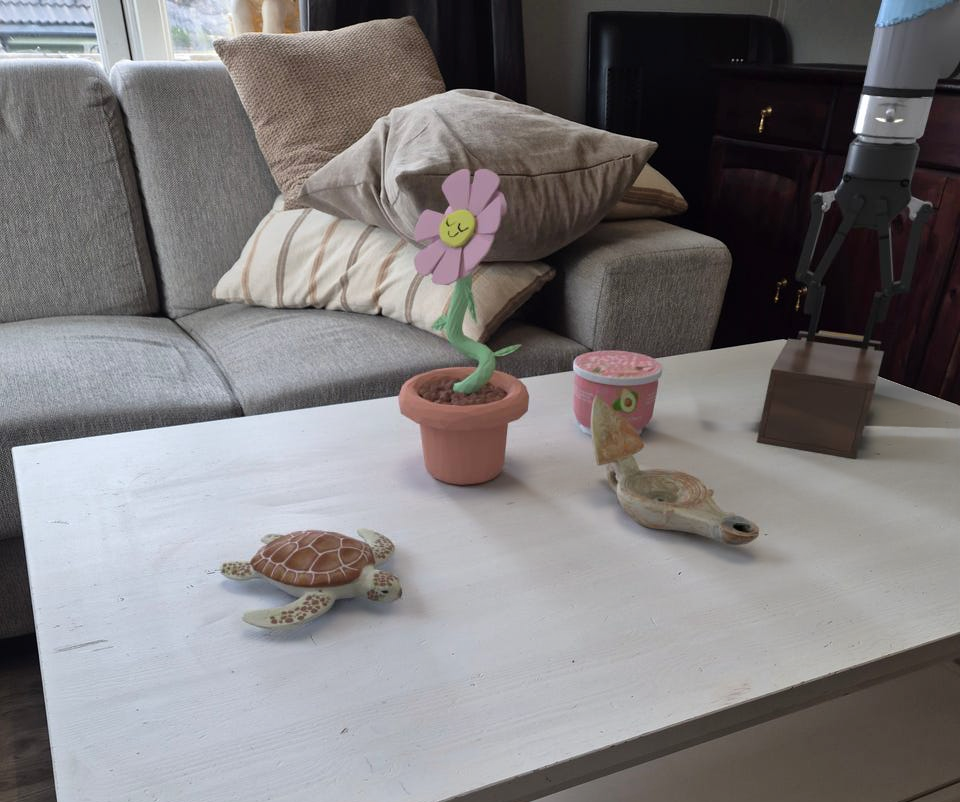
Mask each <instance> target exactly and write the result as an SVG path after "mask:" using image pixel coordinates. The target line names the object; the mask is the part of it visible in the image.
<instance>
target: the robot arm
mask: <svg viewBox="0 0 960 802" xmlns="http://www.w3.org/2000/svg"><path fill="white" fill-rule="evenodd" d="M878 11H879V12H878V13H877V14H878V15H877V18H876V21H875V24H874V32H873V37H872V42H871V48H870V52H869V57H868V62H867V68H866V73H865V77H864V83H863V86H862V91H861V94H860V98H859V102H858V105H857V106H858V107H857V111H856V117H855V119H854V124H853V129H852V132H853V134H854V135H856V137H855V139H853V140H852V142H850V144H849V147H848V152H847V155H846V160H845V165H844V170H843V174H842V178H841V181H840V183H839V184H838V186H837V187H836V188H835V190H830V191H826V192H821V191H817V192H815V193H814V194H813V195H812V196H811V198H810V212H811V217H810V221H809V224H808V228H807V232H806V235H805V239H804V243H803V247H802V250H801V254H800V258H799V261H798V265H797V268H796V272H795V275H794V276H795V280H796V281H797V282H800V283H802V284H804V285H806V286H807V292H806V296H805V301H804V306H803V313H804V315H811V317H810V321H809V326H808V330H807V332H808V335H807V339H806V341H810V342H813V340H814V338H815V333H817V332H816V331H817V329H818V325H819V321H820V320H819V319H820V315H821V310H822V305H823V301H824V297H825V294H826V293H825V292H826V289H827V286H826V285H821V283H822V280H823V279H824V276H825V275H826V273H827V271H828V269H829V268H830V266H831V264H832V262H833V260H834V259H835V257H836V255H837V253H838V252H839V250H840V248H841V246H842V244H843V242H844V240H845V239H846V237H847V236H848V233H849V231H850V230H851V228H853V229H860V228H867V229H869V230H872V231H873V230H874V231H877V239H878V255H879V271H880V288H881V291H880V292H879V291H875V293H874V296H873V300H872V303H871V307H870V311H869V313H868V318H867V323H866V326H865V329H864V334H863V336H864V338H863V342H862V346H861V348H862V349H867V348H868V345H869V341H870V340H871V336H872V333H873V329H874V325H875V323H876V324H883V323H884V322H885V320H886V317H887V314H888V310H889V307H890V302H891V299H892V298H893V297H894V296H895V295H899V294H907V293H908V292H909V291H910V288H911V283H912V279H913V274H914V269H915V265H916V259H917V255H918V250H919V244H920V240H921V236H922V230H923V227H924V224H925V223H926V222H927V220H928V218H929V217H930V214H931V212H932V210H933V203H932V202H931V201H929V200H925V201H924V200H921V199H919V198H916V197H914V196H913V193H912V189H911V185H912V184H911V183H912V179H913V176H914V171H915V167H916V164H917V160H918V157H919V152H920V150H921V149H920V148H921V147H920V146H919V143H917V139H920V138H922V137H923V136H924V134H925V130H926V129H925V128H926V126H927V121H928V119H929V114H930V111H931V106H932V102H933V98H934V96H935V91H936V87H937V83H938V80H940V79H941V80H960V0H881V4H880V7H879V10H878ZM834 201H835V203H836V205H837V207H838V209H839V212H840V213H841V217H842V218H843V220H842V222H841V223H840V225H839V227H838V229H837V231H836V232H835V234H834V236H833V238H832V240H831V242H830V243H829V245H828V247H827V249H826V251H825V253H824V254H823V256H822V258H821V260H820V261H819V264H818V265H817V267H816V269H815V271H814V272H812V271H810V266H811V263H812V260H813V257H814V253H815V249H816V245H817V242H818V238H819V234H820V232H821V227H822V224H823V220H824V216H825V213H827V212H828V211H830V208H831V205H832V202H834ZM906 207H907V208H908V210H909V214H908V218H909V220H910V221H912V223H911V226H910V230H909V235H908V240H907V245H906V250H905V256H904V260H903V265H902V270H901V275H900V279H899V280H898V281H894V267H893V249H892V226H891V222H892V221H893V220H894V219H895V218H896V217H897V216H898V215H899V214H901V212H903V210H904V209H906Z"/></svg>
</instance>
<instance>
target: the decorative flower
mask: <svg viewBox="0 0 960 802" xmlns="http://www.w3.org/2000/svg"><path fill="white" fill-rule="evenodd" d="M500 184H501V178H500V177H499V174H497V173H496V172H494V171H492V170H490V169H488V168H478V169H477V170H476V171H474V175H473V181H472V183H471V170H470V169H468V168H462V169H459V170H457V171H455V172H453V173H451V174H450V175H449V176H447V177H446V178H445V179H444V181H443V183H442V184H441V190H442V192H443V194H444V196H445V198H446V200H447V203H448V204H449V206H448V207H447V208H446V210H445V212H444V213H441V212H438V211H434V210H431V209H425V210H423V211H422V213H421V214H420V215H419V217H418V220H417V222H416V225H415V227H414V234H413V237H414V240H415V242H416V243H421V242H425V241H427V240H430V239H431V240H430V242H429V244H428V246H426V247H425V248H423V249H421V250H420V251H419V252H417V254H416V255H415V256H414V257H413V265H414V269H415V270H416V272H417V273H418V274H419V275H420V276H423V277H428V276H430V275H432V276H431V279H430V280H431V282H432V283H433V284H435V285H439V286H450V285H451V284H454V283H455V284H454V288H453V293H452V296H451V300H450V303H449V308H448V312H447V313H446V314H443V315H441V316H439V317H438V318H436V320H435V321H434V322H433V323H432V325H431V329H432V330H434V331H436V332H438V331H440V332H442V331H445V335H446V338H447V339H448V341H449V344H450V346H451V347H453V348H454V349H456V350H457V351H458V352H460V353H461V354H462V355H463V356H466V357H468V358H470V359H473V360H476V361H478V365H477V367H475V366H458V367H457V366H455V367H454V366H453V367H451V366H450V367H444V368H443V367H442V368H436V369H432V370H429V371H426V372H422V373H420V374H416V375H415V376H412V377H411V378H410V379H408V380H406V381H405V382H404V384H402V386H401V389H400V391H399V393H398V397H397V400H398V406H399V412H400V414H401V415H403V417H406V418H407V419H409V420H410V421H412V422H414V423H415V424H418V425H419V429H420V437H421V438H420V439H421V446H422V455H423V462H424V463H423V464H424V466H425V468H426V471H427V473H428V474H429V475H431V477H432V478H434V479H436V480H438V481H441V482H443V483H445V484H452V485H458V486H466V485H475V484H482V483H485V482H489V481H491V480H493V479H495V478H496V477H498V475H499V474H500V473H501V472H502V471H503V468H504V464H505V460H506V449H507V438H508V430H509V423H512V422H515V421H518V420H520V418H522V417H523V416H524V415H525V414H526V413H528V411H529V405H530V404H529V403H530V394H529V392H528V389H527V386H526V385H525V384H524V383H523V382H522V380H520V379H518V377H515V376H514V375H512V374H508V373H506V372H504V371H503V372H502V371H499V370H496V368H497V367H496V357H503V356H504V357H505V356H506V355H509V354H511V353H513V352H515V351H517V349H519V348H520V347H522V344H514V345H513V344H512V345H509V346H507V347H504V348H501V349H499V350H497V351H495V352H494V351H492V349H490V348H489V347H488V346H487V345H486V344H484V343H481V342H478V341H476V340H474V339H473V338H471V337H469V336H467V335H466V334H465V333H464V330H463V323H464V321H465V320H464V319H465V315H466V312H467V309H468V312H469V315H470V317H471V319H472V321H473V322H474V323H475V325H476V324H478V320H477V319H478V318H477V310H476V303H475V296H474V294H473V292H472V287H473V275H474V272H475V270H477V268H478V267H479V264H480V263H481V262H482V261H483V259H485V258H486V257H487V255H488V254H489V252H490V250H491V248H492V246H493V243H494V241H495V237H496V235H495V234H496V233H497V231H498V230H499V228H500V225H501V222H502V217H503V216H504V215H505V214H507V210H508V208H507V207H508V204H507V201H506V198H505V195H504V193H502V191H499V190H498V188H499V186H500ZM497 190H498V191H497Z"/></svg>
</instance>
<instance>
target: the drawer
mask: <svg viewBox="0 0 960 802" xmlns="http://www.w3.org/2000/svg"><path fill="white" fill-rule="evenodd" d="M807 335H808V331H804V330H800V331H799V332H798V335H797V339H796V340H802V341H806V339H807ZM863 338H864V335H857V334H849V333H841V332H836V331H835V332H834V331H827V330H819V331H818V332H816V333H815V338H814V340H813V342H817V343H825V344H832V345H840V346H847V347H855V348H861V346H862V342H863ZM881 343H882V341H879V340H872V339H870V341H869V345H868V348H867V349H869V350H877V351H880V347H881Z"/></svg>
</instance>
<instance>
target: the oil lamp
mask: <svg viewBox="0 0 960 802" xmlns="http://www.w3.org/2000/svg"><path fill="white" fill-rule="evenodd" d="M590 436H591V444H592V449H593V455H594V458H595V461H596V464H597V466H604V465H605V467H606V468H605V469H606V477H607V482H608V484H609V486H610V487H611V489H612V490H613V492H614V493H616V495H617V498H618V501H619V504H620V506H621V507H622V509H623V510H624V511H625V513H627V514H628V516H630V518H631V519H632V520H633V521H634V522H636V523H637V524H639V525H641V526H643V527H645V528H649V529H654V530H666V531H677V532H678V531H679V532H685V533H690V534H696V535H699V536H703V537H706V538H709V539H712V540H715V541H717V542H721V543H724V544H727V545H731V546H743V545H747V544H749V543H752V542H753V541H755V540H756V539H757V538H758V537H759V533H760V529H759V527H758V525H757V524H756V523H755V522H753V521H752V520H749V518H748V519H747V518H745V517H743V516H740V515H736V514H735V513H734V512H732V511H728V512H725V511H724V510H723V509H721V508H720V507H719V506H718V504H716V502H715V500H714V499H713V495H714V493H715V489H712V488H707V487H706V485H705V483H704V482H702V480H700V479H699V478H697V477H695V476H694V475H691V474H689V473H687V472H682V471H678V470H674V469H662V468H652V469H642V470H641V469H640V467H639V464H638V463H637V460H636V458H635V457H634V455H635V454H637V453H639V452H641V451H643V450H644V448H645V443H644V441H643V440H642V438H641V436H640V435H638V433H637V432H636V431H635V429H634V428H633V427H632V426H631V425H630V424H629V423H628V422H627V421H626V420H625V419H624V418H623V417H622V416H621V415H620V414H619V413H618V412H616V411H615V410H614V409H613V408H611V407H610V406H609V405H607V404H606V403H605V402H604V401H603V400H602V399H601V397H600V396H598V395H597V396H595V397H594V400H593V403H592V412H591V435H590Z"/></svg>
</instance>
